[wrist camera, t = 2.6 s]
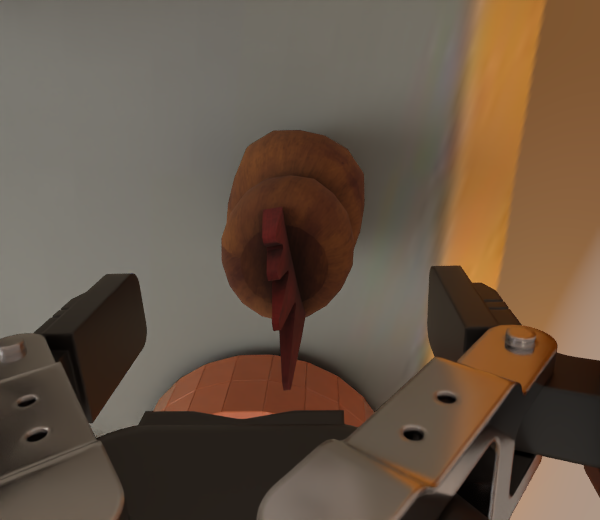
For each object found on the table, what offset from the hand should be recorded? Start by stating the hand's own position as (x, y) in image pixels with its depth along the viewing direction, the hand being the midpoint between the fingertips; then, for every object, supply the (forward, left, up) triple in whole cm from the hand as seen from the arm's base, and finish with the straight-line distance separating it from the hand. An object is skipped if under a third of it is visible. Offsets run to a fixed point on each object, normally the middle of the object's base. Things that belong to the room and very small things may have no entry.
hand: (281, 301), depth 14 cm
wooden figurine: (0, 0, -14) cm, 14 cm away
